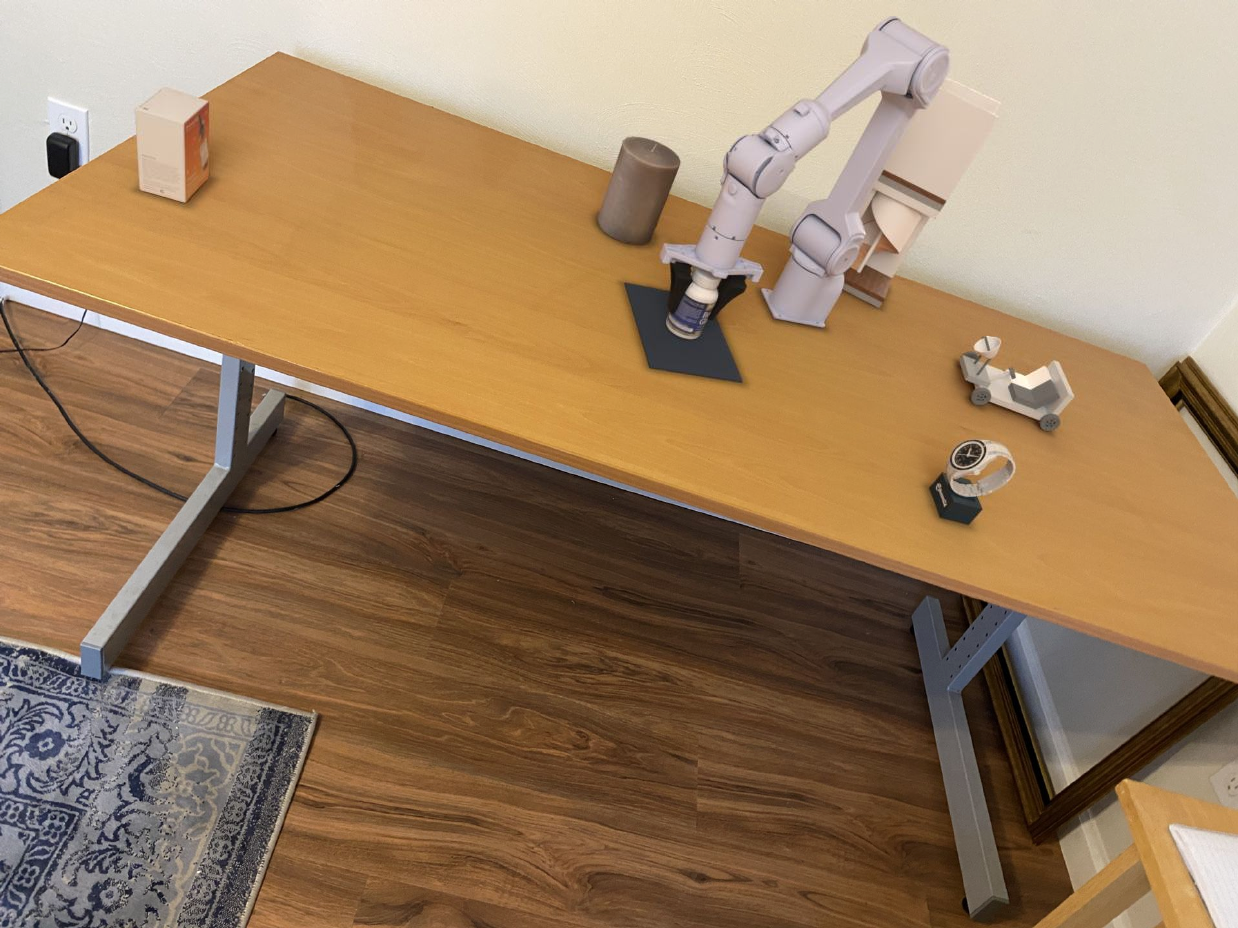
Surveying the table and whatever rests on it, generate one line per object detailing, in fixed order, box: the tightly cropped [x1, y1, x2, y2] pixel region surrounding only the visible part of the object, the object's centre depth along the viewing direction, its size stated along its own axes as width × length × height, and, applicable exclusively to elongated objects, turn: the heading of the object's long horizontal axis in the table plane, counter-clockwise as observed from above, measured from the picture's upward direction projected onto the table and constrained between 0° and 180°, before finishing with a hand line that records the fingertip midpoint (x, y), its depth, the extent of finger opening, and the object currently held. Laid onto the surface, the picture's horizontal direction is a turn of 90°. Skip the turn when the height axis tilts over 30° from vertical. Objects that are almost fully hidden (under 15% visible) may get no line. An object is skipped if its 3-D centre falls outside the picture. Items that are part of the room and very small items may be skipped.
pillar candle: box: [597, 135, 681, 246], centre depth 134 cm, size 10×10×15 cm
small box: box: [134, 86, 210, 204], centre depth 104 cm, size 8×6×10 cm
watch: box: [928, 438, 1017, 526], centre depth 108 cm, size 6×8×11 cm
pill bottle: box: [666, 267, 721, 339], centre depth 118 cm, size 5×5×10 cm
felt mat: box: [624, 281, 744, 384], centre depth 121 cm, size 14×20×1 cm
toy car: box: [958, 335, 1075, 432], centre depth 136 cm, size 18×10×12 cm
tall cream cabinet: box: [842, 76, 1002, 309], centre depth 142 cm, size 11×11×35 cm
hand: (689, 312), depth 119 cm, fingers closed on pill bottle, 5 cm apart
